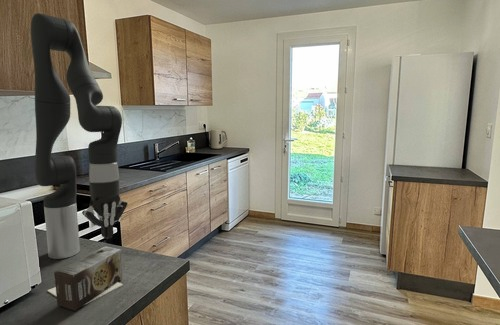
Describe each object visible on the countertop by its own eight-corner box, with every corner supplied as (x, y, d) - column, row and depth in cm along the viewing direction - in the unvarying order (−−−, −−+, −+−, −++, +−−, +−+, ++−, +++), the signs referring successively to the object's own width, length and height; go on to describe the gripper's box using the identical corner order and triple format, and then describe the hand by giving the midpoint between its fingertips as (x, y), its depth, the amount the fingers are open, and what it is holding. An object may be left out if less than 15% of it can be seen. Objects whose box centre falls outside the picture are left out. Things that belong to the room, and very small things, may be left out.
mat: (47, 291, 83) (47, 290, 83) (94, 271, 94) (94, 270, 94) (76, 309, 76) (76, 308, 76) (122, 285, 87) (122, 284, 87)
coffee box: (123, 278, 90) (76, 312, 74) (106, 274, 92) (56, 306, 77) (121, 248, 88) (72, 277, 73) (103, 245, 90) (52, 272, 75)
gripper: (117, 173, 94) (120, 228, 97) (72, 180, 83) (77, 242, 86) (133, 176, 90) (135, 233, 93) (88, 184, 79) (92, 249, 82)
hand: (107, 237), depth 89 cm, fingers closed
